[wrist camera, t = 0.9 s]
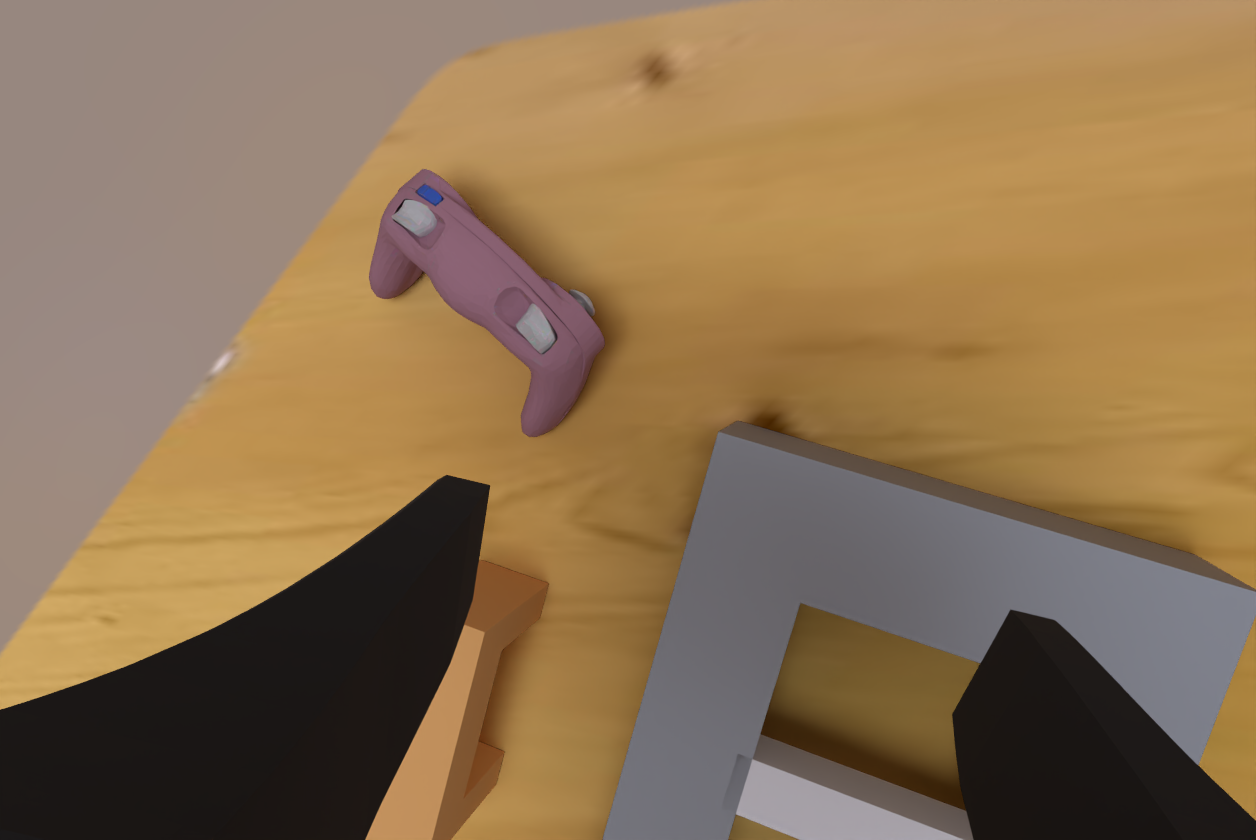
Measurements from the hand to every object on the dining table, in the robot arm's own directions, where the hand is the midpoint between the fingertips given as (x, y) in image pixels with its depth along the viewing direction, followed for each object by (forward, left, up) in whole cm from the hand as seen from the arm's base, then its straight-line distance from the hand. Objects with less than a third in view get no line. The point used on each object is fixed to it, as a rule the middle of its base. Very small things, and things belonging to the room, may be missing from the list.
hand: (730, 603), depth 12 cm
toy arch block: (-13, +10, -21) cm, 26 cm away
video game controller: (+2, +13, -21) cm, 25 cm away
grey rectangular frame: (-11, -5, -21) cm, 24 cm away
